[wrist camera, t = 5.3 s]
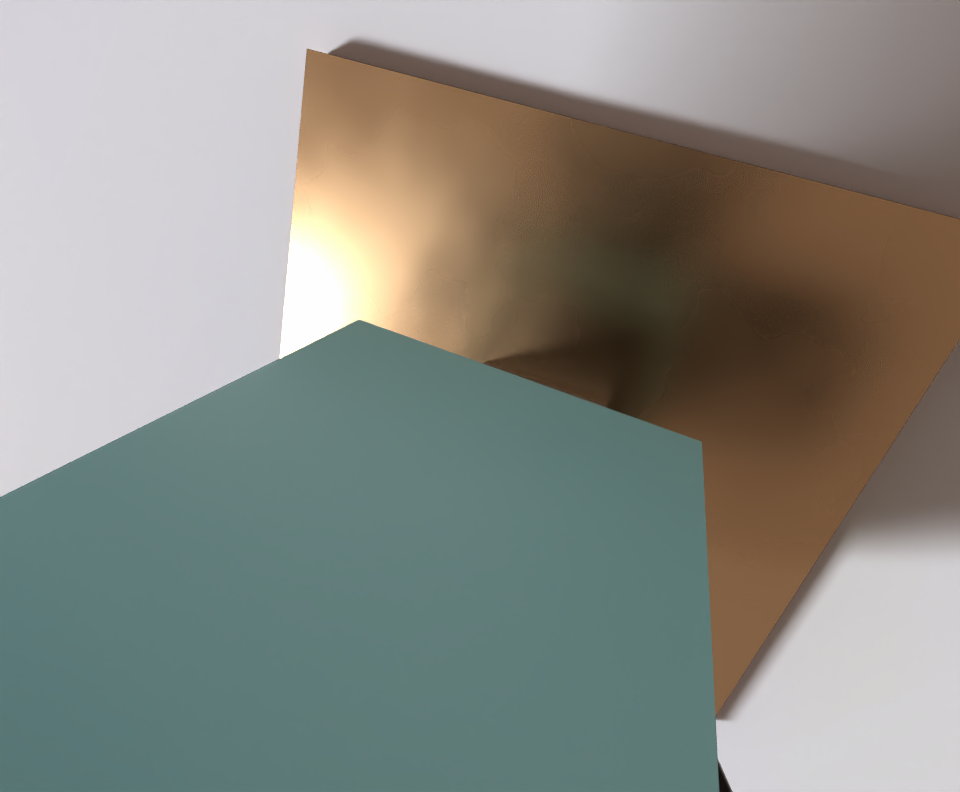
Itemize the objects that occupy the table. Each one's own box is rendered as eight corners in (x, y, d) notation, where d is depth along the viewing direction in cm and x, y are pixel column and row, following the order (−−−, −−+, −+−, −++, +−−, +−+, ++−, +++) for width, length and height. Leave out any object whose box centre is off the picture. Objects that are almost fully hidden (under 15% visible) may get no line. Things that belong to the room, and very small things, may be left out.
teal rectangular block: (582, 693, 10) (440, 1417, 4) (320, 573, 11) (-84, 1032, 5) (702, 441, 8) (743, 1264, 2) (359, 318, 9) (-277, 633, 3)
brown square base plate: (698, 720, 14) (706, 1150, 8) (277, 531, 17) (32, 755, 10) (1005, 231, 9) (1695, 398, 3) (325, 53, 11) (-114, -70, 5)
